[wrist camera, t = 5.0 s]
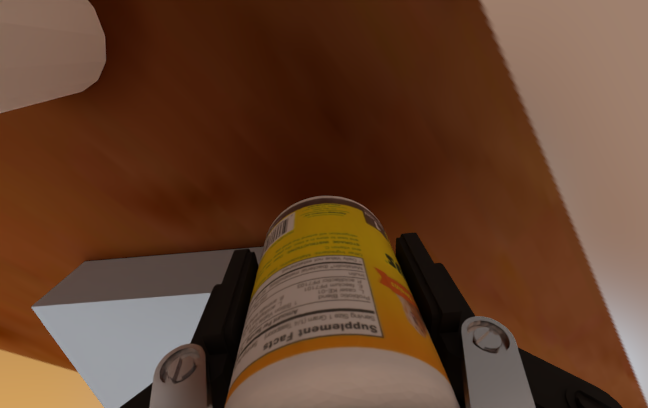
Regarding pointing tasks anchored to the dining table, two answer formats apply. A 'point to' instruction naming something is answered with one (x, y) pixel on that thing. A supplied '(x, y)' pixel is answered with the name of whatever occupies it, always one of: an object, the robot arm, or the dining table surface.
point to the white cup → (48, 50)
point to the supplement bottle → (334, 319)
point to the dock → (130, 315)
